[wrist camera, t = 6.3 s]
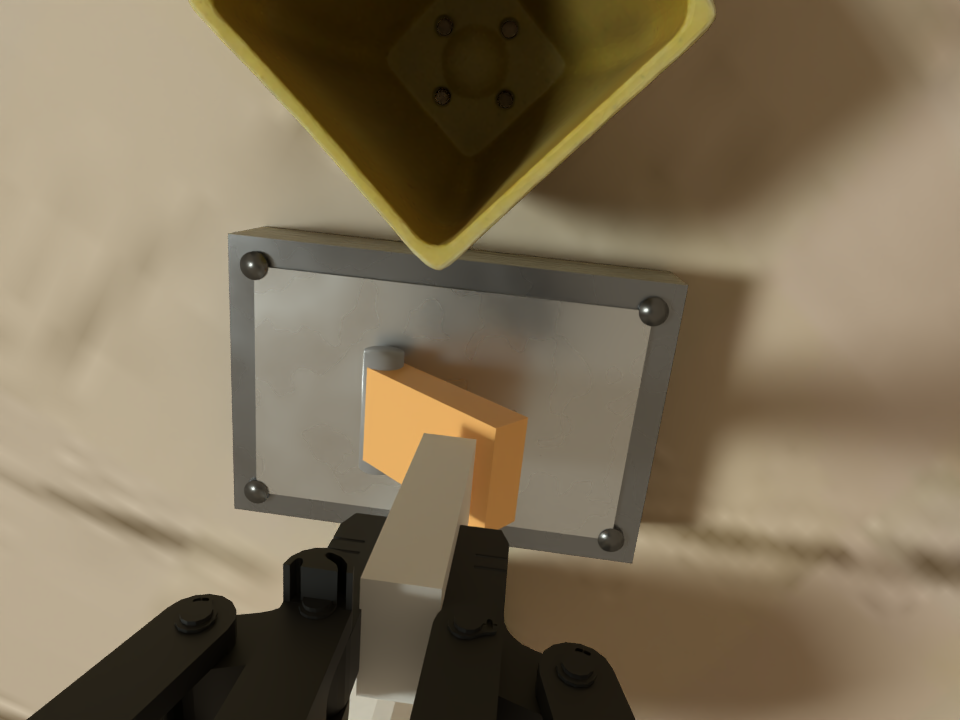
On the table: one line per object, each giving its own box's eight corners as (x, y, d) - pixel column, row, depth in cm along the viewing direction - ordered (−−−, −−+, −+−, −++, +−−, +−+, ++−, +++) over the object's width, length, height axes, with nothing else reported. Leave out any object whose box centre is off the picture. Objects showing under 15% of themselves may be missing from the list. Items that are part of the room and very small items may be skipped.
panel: (264, 226, 24) (225, 234, 21) (670, 271, 24) (689, 286, 21) (265, 474, 28) (232, 510, 25) (622, 521, 27) (632, 566, 24)
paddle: (355, 349, 21) (497, 413, 17) (387, 343, 22) (530, 403, 18) (350, 463, 23) (482, 550, 18) (381, 453, 24) (512, 533, 19)
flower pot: (654, 75, 22) (730, 11, 13) (471, 241, 24) (434, 279, 15) (489, -140, 20) (453, -367, 12) (311, 59, 23) (172, -11, 14)
